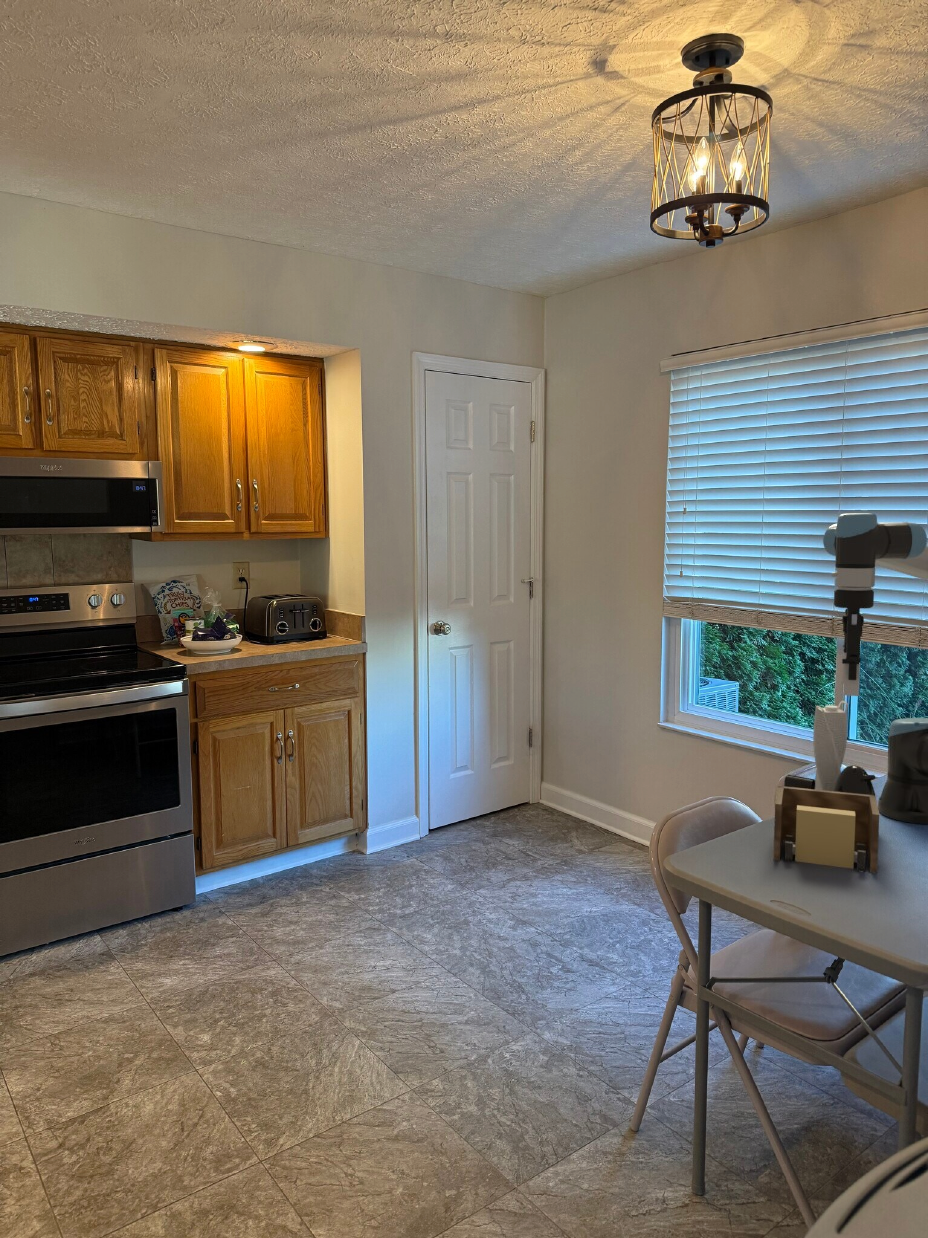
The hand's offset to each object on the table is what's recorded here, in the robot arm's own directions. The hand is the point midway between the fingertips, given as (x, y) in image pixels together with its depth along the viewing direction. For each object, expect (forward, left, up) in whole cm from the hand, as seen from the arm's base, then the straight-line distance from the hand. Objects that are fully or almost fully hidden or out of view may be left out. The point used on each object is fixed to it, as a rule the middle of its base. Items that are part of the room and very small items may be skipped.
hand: (850, 689), depth 180 cm
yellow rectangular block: (+9, +4, -35) cm, 36 cm away
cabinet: (+6, +1, -35) cm, 35 cm away
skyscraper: (-13, -19, -35) cm, 42 cm away
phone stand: (0, -14, -35) cm, 38 cm away
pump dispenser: (-10, -8, -35) cm, 37 cm away
